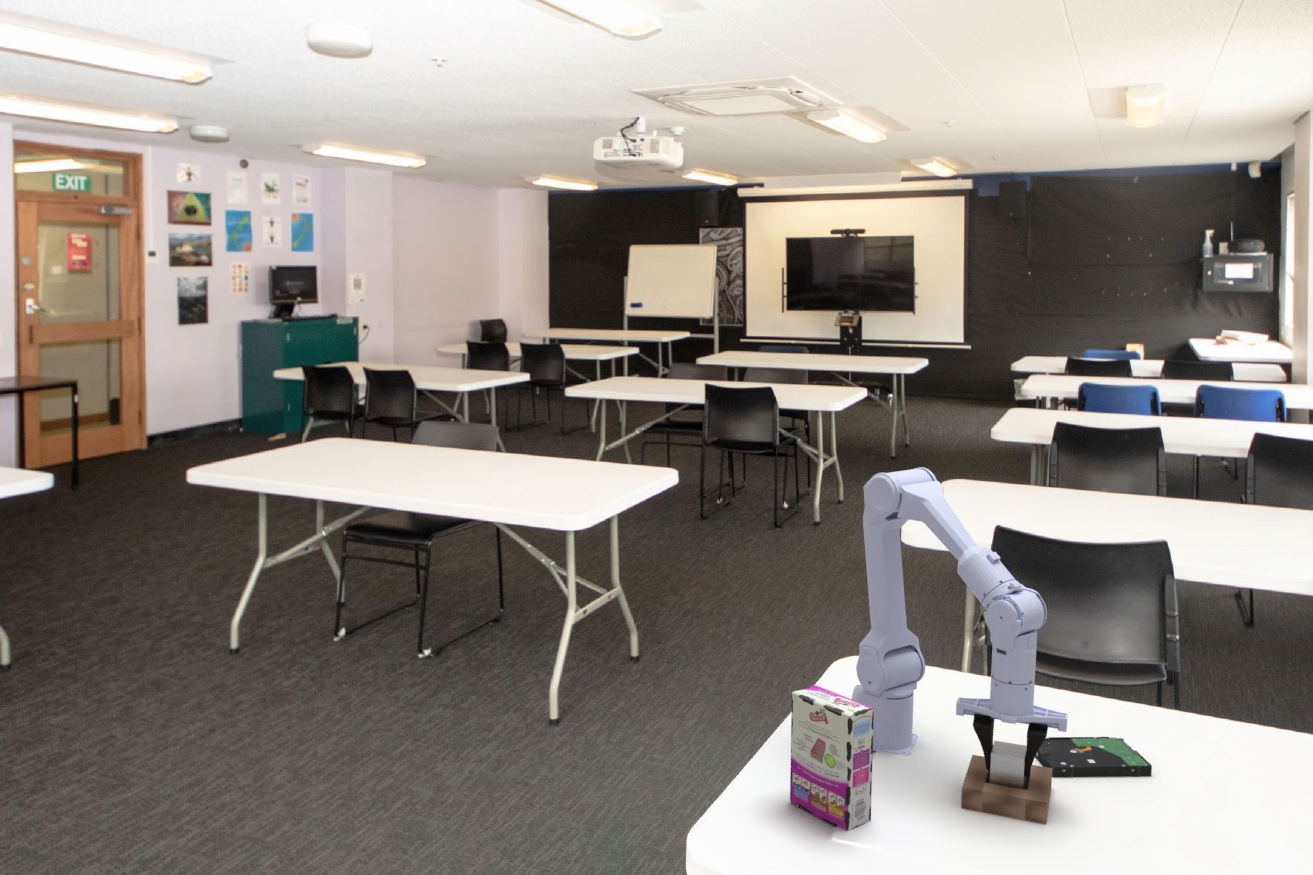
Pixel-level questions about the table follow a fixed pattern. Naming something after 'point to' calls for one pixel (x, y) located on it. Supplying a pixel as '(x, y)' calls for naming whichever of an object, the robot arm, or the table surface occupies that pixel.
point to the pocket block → (1007, 793)
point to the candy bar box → (831, 756)
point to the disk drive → (1091, 757)
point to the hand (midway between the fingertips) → (1008, 770)
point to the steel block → (1008, 764)
